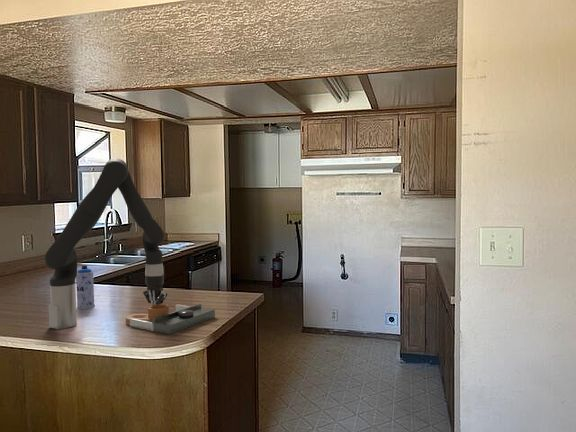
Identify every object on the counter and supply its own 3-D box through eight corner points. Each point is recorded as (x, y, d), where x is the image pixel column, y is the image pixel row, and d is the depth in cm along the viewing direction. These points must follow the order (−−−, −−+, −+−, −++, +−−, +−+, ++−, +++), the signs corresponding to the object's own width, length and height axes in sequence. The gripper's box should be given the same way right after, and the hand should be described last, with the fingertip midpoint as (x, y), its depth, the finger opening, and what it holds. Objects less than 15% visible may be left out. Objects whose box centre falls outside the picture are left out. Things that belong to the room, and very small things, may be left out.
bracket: (171, 320, 185) (171, 304, 185) (165, 326, 177) (164, 309, 176) (131, 320, 186) (130, 304, 186) (122, 325, 178) (121, 309, 178)
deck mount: (169, 334, 165) (168, 321, 165) (129, 326, 177) (129, 313, 176) (214, 317, 188) (214, 305, 187) (177, 310, 199) (177, 299, 199)
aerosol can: (73, 308, 206) (71, 266, 205) (85, 304, 214) (84, 264, 212) (85, 309, 203) (84, 267, 202) (98, 305, 211) (97, 264, 210)
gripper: (137, 274, 187) (138, 313, 188) (158, 276, 180) (159, 317, 181) (150, 271, 193) (151, 309, 194) (172, 273, 187) (173, 313, 187)
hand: (155, 313), depth 188 cm, fingers closed
